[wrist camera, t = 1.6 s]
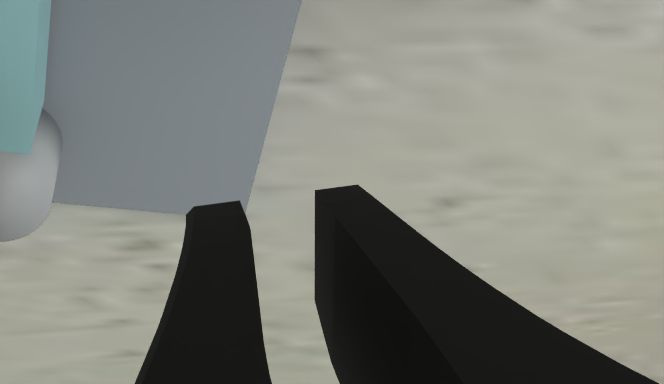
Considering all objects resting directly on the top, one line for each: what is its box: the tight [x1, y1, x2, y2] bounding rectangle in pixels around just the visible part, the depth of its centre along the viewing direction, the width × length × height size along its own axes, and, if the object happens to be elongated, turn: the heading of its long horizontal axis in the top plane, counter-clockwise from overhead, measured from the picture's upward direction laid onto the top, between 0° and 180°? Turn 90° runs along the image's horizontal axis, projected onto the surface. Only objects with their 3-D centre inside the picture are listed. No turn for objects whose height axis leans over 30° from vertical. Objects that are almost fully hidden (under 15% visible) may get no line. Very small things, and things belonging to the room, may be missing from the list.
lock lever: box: [0, 0, 62, 242], centre depth 13 cm, size 8×2×3 cm, turn 163°
